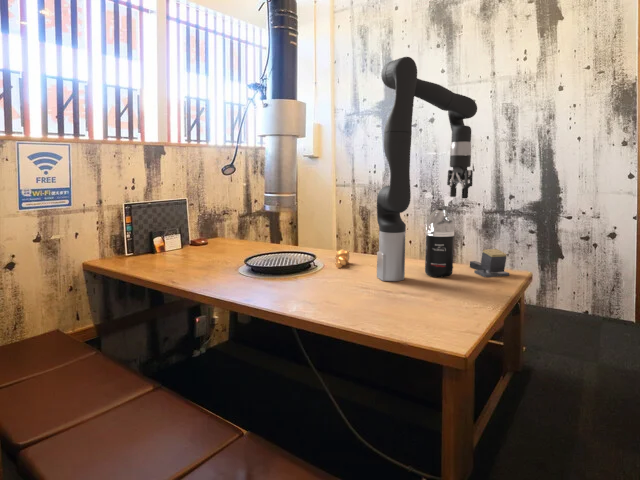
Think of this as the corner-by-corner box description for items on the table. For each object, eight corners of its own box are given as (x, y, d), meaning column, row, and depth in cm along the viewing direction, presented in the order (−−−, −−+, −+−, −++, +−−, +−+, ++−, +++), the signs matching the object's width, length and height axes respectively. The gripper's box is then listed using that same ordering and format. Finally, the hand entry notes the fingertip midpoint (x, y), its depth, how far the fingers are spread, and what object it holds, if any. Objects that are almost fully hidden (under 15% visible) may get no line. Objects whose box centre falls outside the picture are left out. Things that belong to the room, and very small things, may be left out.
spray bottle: (454, 278, 160) (457, 209, 156) (424, 277, 162) (426, 208, 158) (451, 272, 170) (454, 206, 166) (423, 271, 172) (425, 206, 168)
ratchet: (484, 277, 161) (485, 261, 161) (461, 267, 177) (461, 252, 176) (509, 275, 164) (510, 259, 163) (483, 266, 180) (484, 251, 179)
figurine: (329, 266, 178) (331, 255, 190) (339, 276, 179) (340, 264, 191) (344, 253, 176) (345, 242, 187) (354, 263, 177) (355, 252, 188)
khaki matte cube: (489, 272, 162) (492, 255, 160) (480, 266, 168) (482, 249, 166) (504, 271, 164) (506, 254, 162) (494, 265, 169) (497, 248, 167)
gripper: (442, 155, 174) (440, 196, 176) (461, 153, 160) (459, 198, 163) (459, 155, 175) (458, 196, 178) (480, 153, 162) (478, 198, 164)
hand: (458, 197), depth 170 cm, fingers open, 8 cm apart
